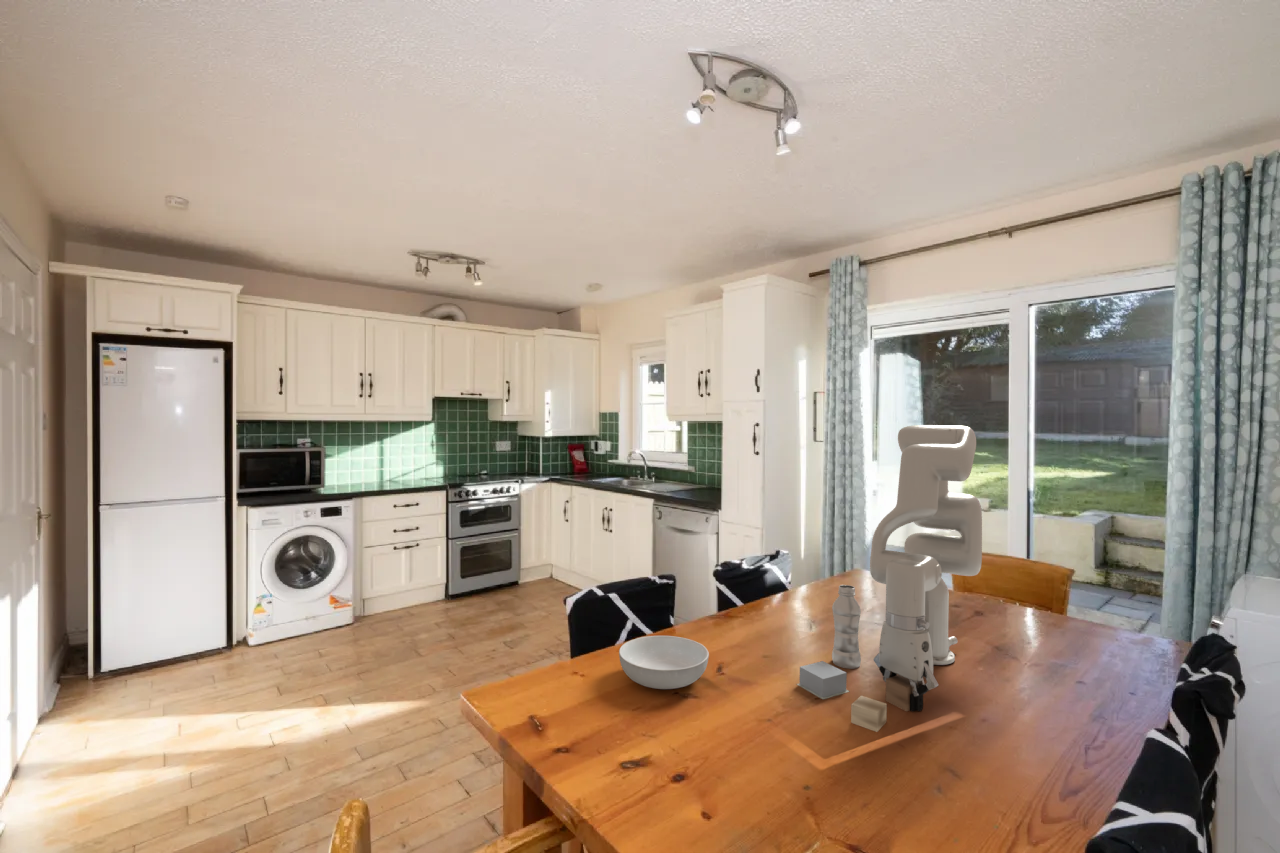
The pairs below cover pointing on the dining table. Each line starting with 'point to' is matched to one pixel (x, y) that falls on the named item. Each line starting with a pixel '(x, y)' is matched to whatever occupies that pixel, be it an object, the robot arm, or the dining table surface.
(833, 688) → the base block
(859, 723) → the birch block
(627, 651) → the serving bowl
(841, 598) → the plastic bottle
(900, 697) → the walnut block
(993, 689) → the dining table surface
